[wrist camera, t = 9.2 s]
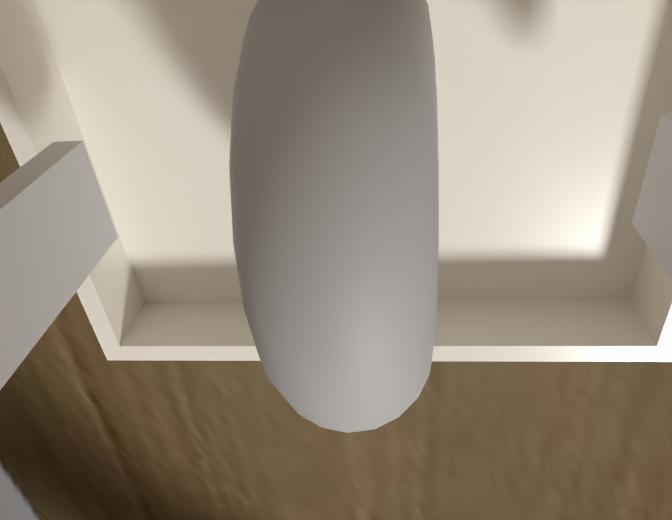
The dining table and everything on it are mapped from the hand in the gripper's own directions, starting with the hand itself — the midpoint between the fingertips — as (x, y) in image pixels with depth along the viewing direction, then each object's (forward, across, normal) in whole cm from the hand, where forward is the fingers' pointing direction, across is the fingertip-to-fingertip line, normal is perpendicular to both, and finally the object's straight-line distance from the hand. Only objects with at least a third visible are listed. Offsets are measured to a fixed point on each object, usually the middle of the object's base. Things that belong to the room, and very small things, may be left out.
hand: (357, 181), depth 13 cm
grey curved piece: (+4, 0, 0) cm, 4 cm away
